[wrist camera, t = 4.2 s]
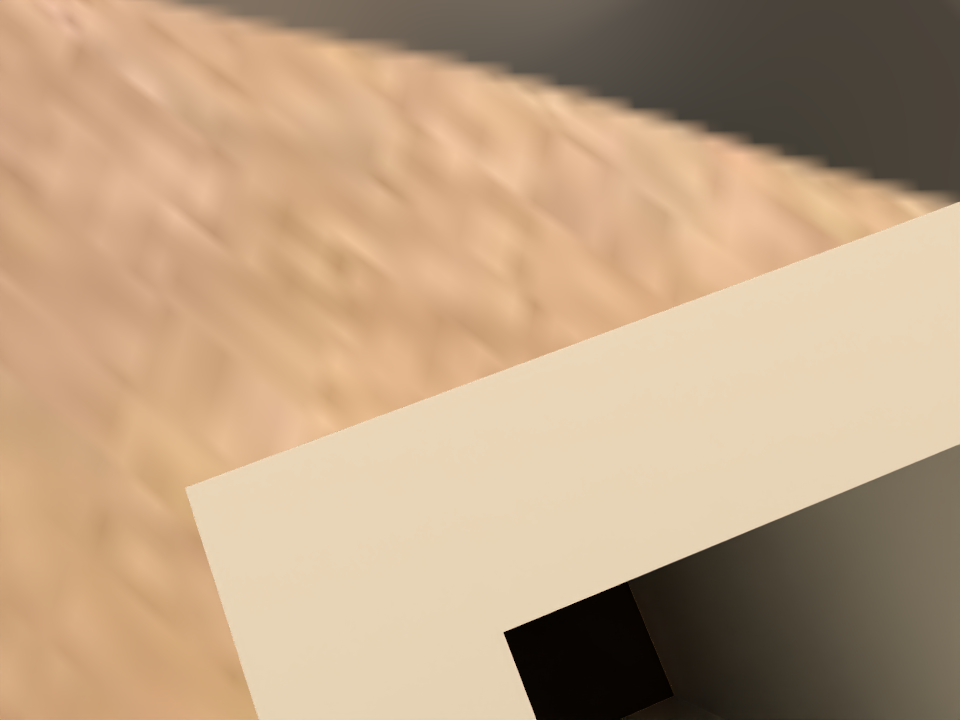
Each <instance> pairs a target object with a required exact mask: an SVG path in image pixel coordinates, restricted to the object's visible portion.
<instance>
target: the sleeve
mask: <svg viewBox="0 0 960 720" xmlns="http://www.w3.org/2000/svg"><path fill="white" fill-rule="evenodd" d="M185 490H186V493H187V496H188V499H189V502H190V505H191V508H192V512H193V515H194V518H195V521H196V524H197V527H198V530H199V534H200V537H201V540H202V543H203V546H204V549H205V552H206V556H207V559H208V562H209V565H210V568H211V571H212V574H213V577H214V581H215V584H216V587H217V590H218V593H219V596H220V599H221V603H222V606H223V609H224V612H225V615H226V618H227V621H228V625H229V628H230V631H231V634H232V637H233V640H234V643H235V646H236V650H237V653H238V656H239V659H240V662H241V665H242V668H243V672H244V675H245V678H246V681H247V684H248V687H249V690H250V694H251V697H252V700H253V703H254V706H255V709H256V712H257V715H258V719H259V720H536V717H535V715H534V712H533V709H532V707H531V704H530V702H529V699H528V696H527V694H526V691H525V688H524V686H523V683H522V680H521V678H520V675H519V673H518V670H517V667H516V665H515V662H514V659H513V657H512V654H511V651H510V649H509V646H508V644H507V641H506V638H505V636H504V633H503V632H505V631H508V630H510V629H513V628H515V627H517V626H520V625H522V624H525V623H527V622H530V621H532V620H534V619H537V618H539V617H542V616H544V615H546V614H549V613H551V612H554V611H556V610H559V609H561V608H563V607H566V606H568V605H571V604H573V603H576V602H578V601H580V600H583V599H585V598H588V597H590V596H593V595H595V594H597V593H600V592H602V591H605V590H607V589H609V588H612V587H614V586H617V585H619V584H622V583H624V582H626V581H627V582H628V584H629V587H630V589H631V591H632V594H633V596H634V599H635V601H636V604H637V606H638V608H639V611H640V613H641V616H642V618H643V621H644V623H645V625H646V628H647V630H648V633H649V635H650V638H651V640H652V643H653V645H654V647H655V650H656V652H657V655H658V657H659V660H660V662H661V664H662V667H663V669H664V672H665V674H666V677H667V679H668V681H669V684H670V686H671V689H672V691H673V694H674V696H672V697H670V698H668V699H665V700H663V701H661V702H658V703H656V704H654V705H651V706H649V707H647V708H645V709H642V710H640V711H638V712H635V713H633V714H631V715H628V716H626V717H624V718H622V719H619V720H960V202H958V203H955V204H953V205H950V206H947V207H944V208H942V209H939V210H936V211H934V212H931V213H928V214H925V215H923V216H920V217H917V218H915V219H912V220H909V221H907V222H904V223H901V224H898V225H896V226H893V227H890V228H888V229H885V230H882V231H879V232H877V233H874V234H871V235H869V236H866V237H863V238H860V239H858V240H855V241H852V242H850V243H847V244H844V245H841V246H839V247H836V248H833V249H831V250H828V251H825V252H823V253H820V254H817V255H814V256H812V257H809V258H806V259H804V260H801V261H798V262H795V263H793V264H790V265H787V266H785V267H782V268H779V269H776V270H774V271H771V272H768V273H766V274H763V275H760V276H757V277H755V278H752V279H749V280H747V281H744V282H741V283H738V284H736V285H733V286H730V287H728V288H725V289H722V290H720V291H717V292H714V293H711V294H709V295H706V296H703V297H701V298H698V299H695V300H692V301H690V302H687V303H684V304H682V305H679V306H676V307H673V308H671V309H668V310H665V311H663V312H660V313H657V314H654V315H652V316H649V317H646V318H644V319H641V320H638V321H636V322H633V323H630V324H627V325H625V326H622V327H619V328H617V329H614V330H611V331H608V332H606V333H603V334H600V335H598V336H595V337H592V338H589V339H587V340H584V341H581V342H579V343H576V344H573V345H570V346H568V347H565V348H562V349H560V350H557V351H554V352H552V353H549V354H546V355H543V356H541V357H538V358H535V359H533V360H530V361H527V362H524V363H522V364H519V365H516V366H514V367H511V368H508V369H505V370H503V371H500V372H497V373H495V374H492V375H489V376H486V377H484V378H481V379H478V380H476V381H473V382H470V383H468V384H465V385H462V386H459V387H457V388H454V389H451V390H449V391H446V392H443V393H440V394H438V395H435V396H432V397H430V398H427V399H424V400H421V401H419V402H416V403H413V404H411V405H408V406H405V407H402V408H400V409H397V410H394V411H392V412H389V413H386V414H384V415H381V416H378V417H375V418H373V419H370V420H367V421H365V422H362V423H359V424H356V425H354V426H351V427H348V428H346V429H343V430H340V431H337V432H335V433H332V434H329V435H327V436H324V437H321V438H318V439H316V440H313V441H310V442H308V443H305V444H302V445H300V446H297V447H294V448H291V449H289V450H286V451H283V452H281V453H278V454H275V455H272V456H270V457H267V458H264V459H262V460H259V461H256V462H253V463H251V464H248V465H245V466H243V467H240V468H237V469H234V470H232V471H229V472H226V473H224V474H221V475H218V476H216V477H213V478H210V479H207V480H205V481H202V482H199V483H197V484H194V485H191V486H188V487H186V488H185Z"/></svg>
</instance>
